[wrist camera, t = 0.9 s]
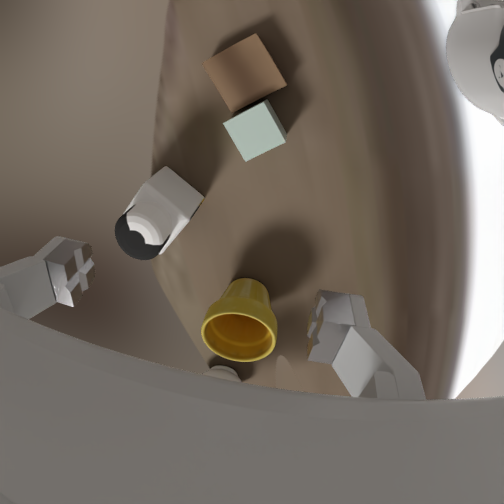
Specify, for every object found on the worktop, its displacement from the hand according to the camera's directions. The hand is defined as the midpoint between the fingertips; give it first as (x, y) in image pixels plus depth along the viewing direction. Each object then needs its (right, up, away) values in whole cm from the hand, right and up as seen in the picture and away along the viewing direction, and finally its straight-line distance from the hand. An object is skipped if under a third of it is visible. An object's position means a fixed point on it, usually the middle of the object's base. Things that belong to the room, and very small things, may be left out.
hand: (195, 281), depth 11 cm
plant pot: (+1, -6, +40) cm, 41 cm away
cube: (+3, +16, +26) cm, 31 cm away
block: (+1, +22, +23) cm, 32 cm away
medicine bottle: (-9, +9, +33) cm, 35 cm away
